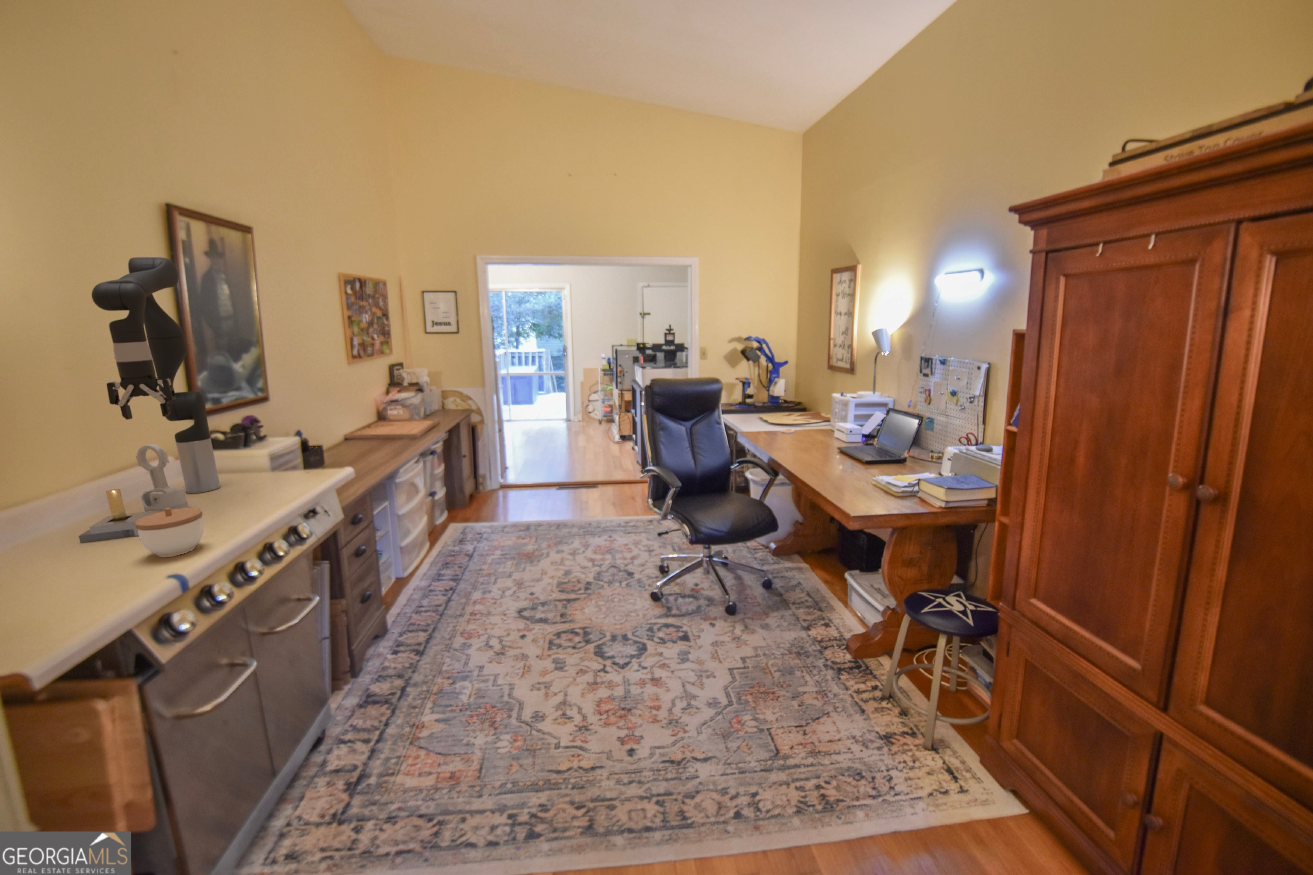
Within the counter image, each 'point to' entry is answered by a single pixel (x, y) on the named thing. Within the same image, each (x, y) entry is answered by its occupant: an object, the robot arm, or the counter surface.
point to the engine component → (159, 483)
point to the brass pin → (116, 505)
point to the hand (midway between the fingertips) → (147, 417)
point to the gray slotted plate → (115, 527)
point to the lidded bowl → (171, 531)
